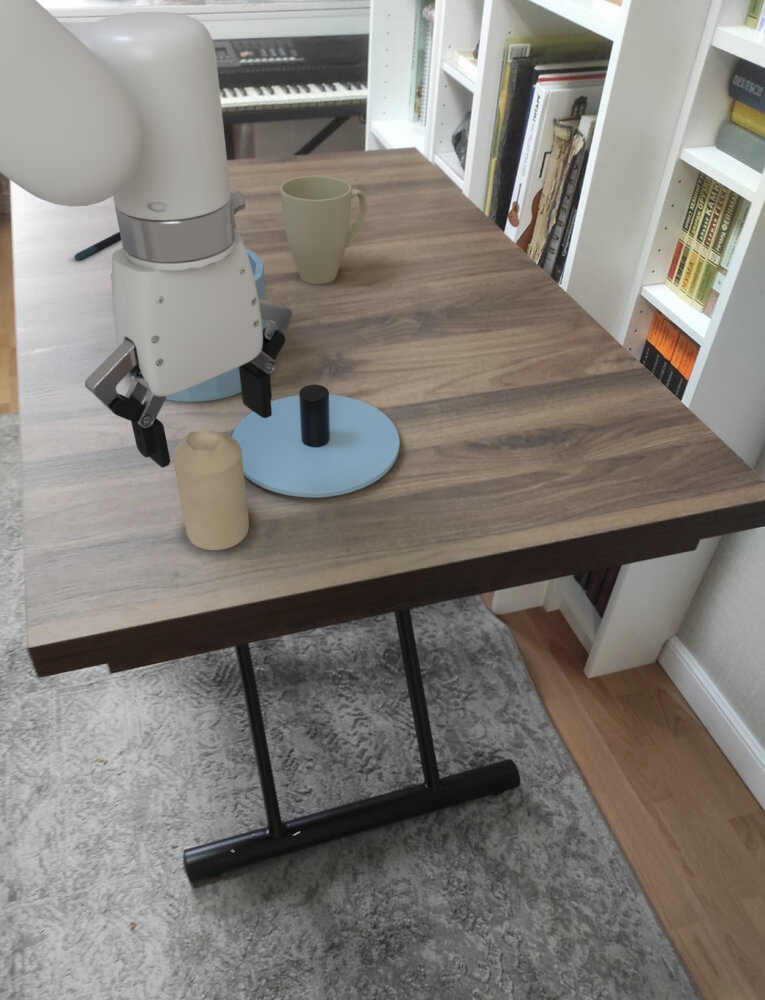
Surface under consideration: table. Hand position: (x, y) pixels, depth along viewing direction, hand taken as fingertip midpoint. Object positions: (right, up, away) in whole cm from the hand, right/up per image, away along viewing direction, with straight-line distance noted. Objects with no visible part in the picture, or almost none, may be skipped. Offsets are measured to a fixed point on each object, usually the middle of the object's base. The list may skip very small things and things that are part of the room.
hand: (208, 433), depth 67 cm
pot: (-7, +10, +28) cm, 30 cm away
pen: (-25, +32, +53) cm, 67 cm away
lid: (+7, 0, +15) cm, 17 cm away
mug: (+6, +25, +47) cm, 54 cm away
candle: (-1, -8, +6) cm, 10 cm away
